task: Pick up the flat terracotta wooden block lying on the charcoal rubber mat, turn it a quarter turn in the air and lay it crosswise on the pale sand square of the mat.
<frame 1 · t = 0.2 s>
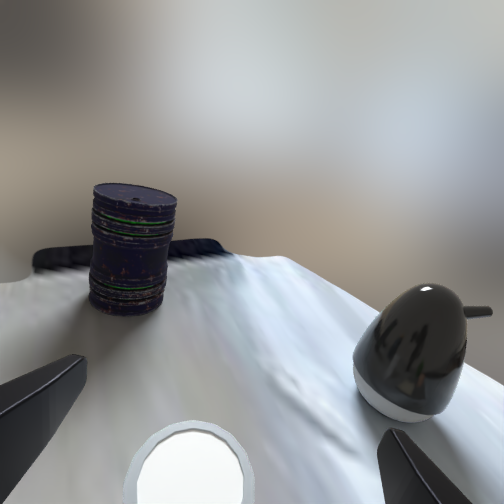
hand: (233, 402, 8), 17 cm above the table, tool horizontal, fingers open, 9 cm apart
storage jar: (127, 297, 41), on the table
pump dispenser: (385, 399, 34), on the table
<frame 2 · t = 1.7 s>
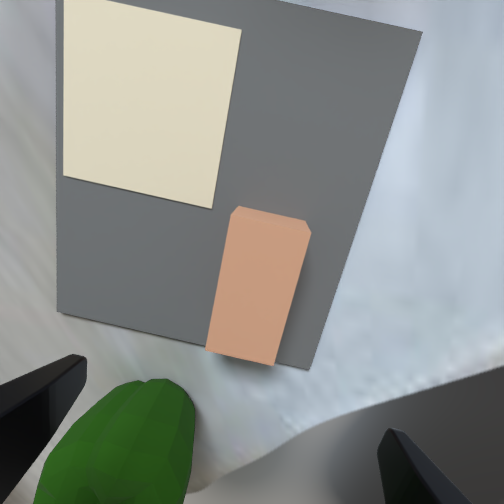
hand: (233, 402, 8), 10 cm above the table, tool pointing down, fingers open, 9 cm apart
bell pepper: (159, 400, 22), on the table
rubber mat: (206, 197, 17), on the table
flat block: (257, 275, 18), resting on rubber mat
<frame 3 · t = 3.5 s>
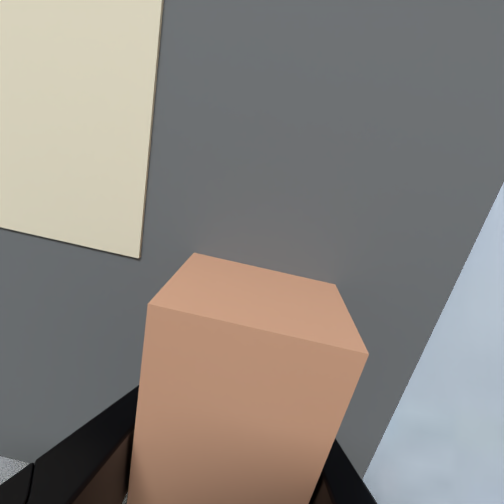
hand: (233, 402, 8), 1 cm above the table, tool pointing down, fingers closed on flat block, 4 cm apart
rubber mat: (131, 233, 8), on the table
flat block: (237, 382, 9), resting on rubber mat, touching gripper
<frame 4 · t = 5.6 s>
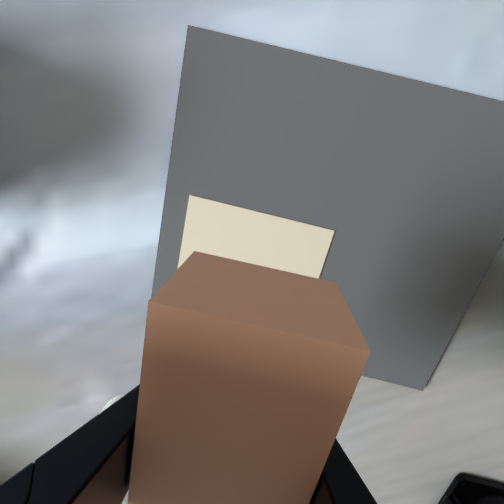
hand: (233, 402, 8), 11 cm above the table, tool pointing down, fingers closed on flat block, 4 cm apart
rubber mat: (322, 234, 18), on the table
flat block: (237, 381, 9), point 10 cm above the table, touching gripper
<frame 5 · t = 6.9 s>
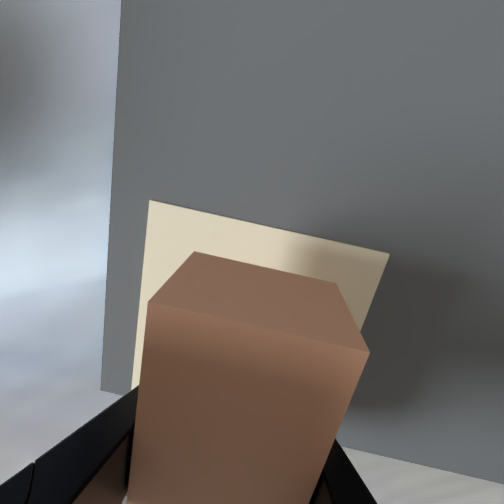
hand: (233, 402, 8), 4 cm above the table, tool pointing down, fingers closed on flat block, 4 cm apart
rubber mat: (367, 259, 11), on the table
flat block: (237, 381, 9), point 3 cm above the table, touching gripper
when the fingers open (3 cm above the table, at t = 7.9 s): flat block drops 2 cm, resting on rubber mat.
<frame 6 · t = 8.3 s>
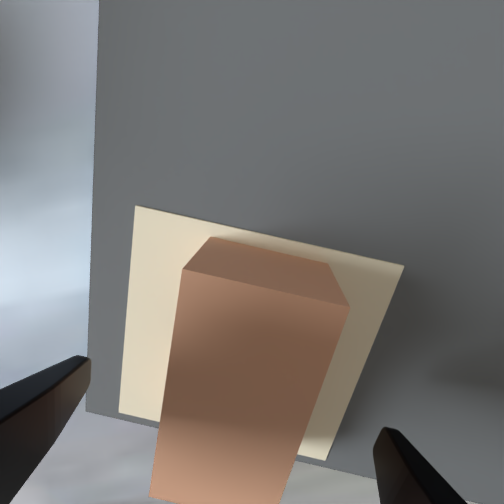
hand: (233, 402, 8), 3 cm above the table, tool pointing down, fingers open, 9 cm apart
rubber mat: (378, 271, 10), on the table
flat block: (244, 349, 11), resting on rubber mat
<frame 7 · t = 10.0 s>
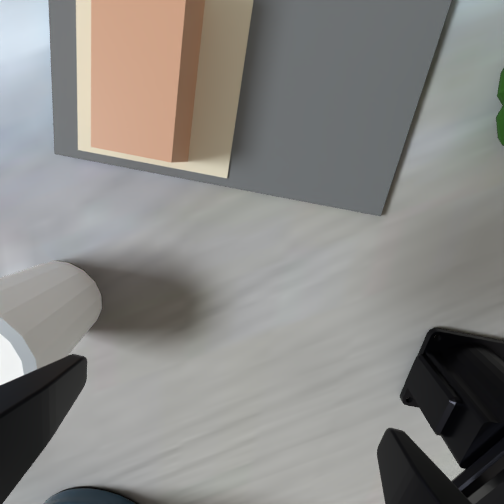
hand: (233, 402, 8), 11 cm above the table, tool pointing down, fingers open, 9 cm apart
white cup: (66, 295, 21), on the table
rubber mat: (243, 9, 15), on the table
flat block: (159, 78, 16), resting on rubber mat
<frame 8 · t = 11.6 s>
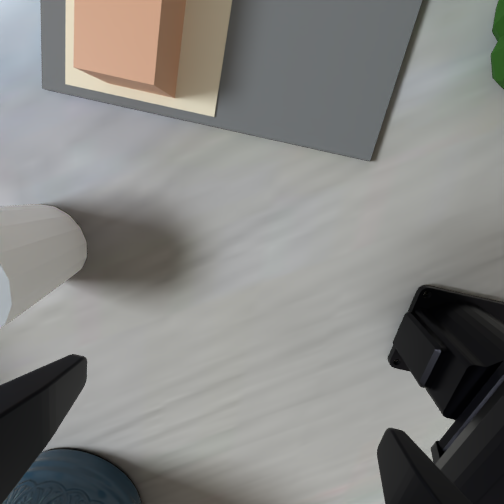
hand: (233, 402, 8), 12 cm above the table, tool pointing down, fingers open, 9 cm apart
white cup: (51, 242, 21), on the table
canister: (83, 490, 29), on the table
flat block: (148, 8, 15), resting on rubber mat
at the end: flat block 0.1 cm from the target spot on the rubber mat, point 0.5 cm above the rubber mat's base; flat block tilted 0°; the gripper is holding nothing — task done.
